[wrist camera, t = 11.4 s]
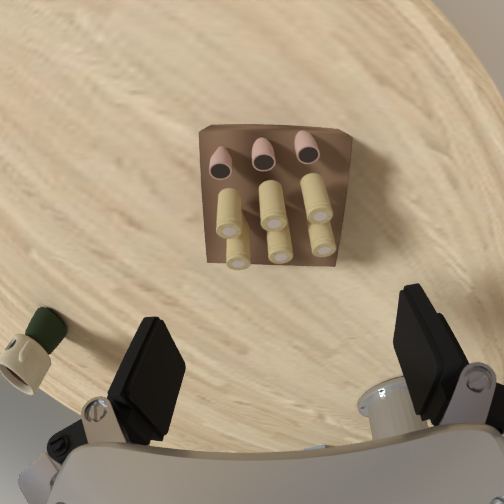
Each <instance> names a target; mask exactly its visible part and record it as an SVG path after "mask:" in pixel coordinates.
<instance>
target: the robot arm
mask: <svg viewBox="0 0 504 504" xmlns="http://www.w3.org/2000/svg"><path fill="white" fill-rule="evenodd" d="M393 345H394V349H395V352H396V355H397V357H398V360H399V363H400V366H401V369H402V372H403V375H404V377H399V378H395V379H392V380H389V381H386V382H384V383H381V384H379V385H377V386H375V387H374V388H372V389H371V390H369V391H368V392H367V393H365V394H364V395H363V396H362V397H361V399H360V400H359V402H358V411H359V413H360V414H361V415H363V416H365V417H368V418H369V421H370V427H371V432H372V438H373V440H372V441H367V442H362V443H356V444H350V445H344V446H337V447H329V448H321V449H311V450H300V451H287V452H264V453H228V452H205V451H191V450H180V449H171V448H162V447H153V446H150V445H149V444H150V441H151V440H155V441H163V437H164V435H166V434H167V433H168V430H169V426H170V423H171V419H172V415H173V412H174V408H175V405H176V401H177V397H178V394H179V390H180V387H181V383H182V380H183V376H184V373H185V369H186V366H185V362H184V360H183V358H182V356H181V354H180V352H179V350H178V349H177V347H176V345H175V343H174V341H173V339H172V337H171V335H170V333H169V331H168V329H167V327H166V325H165V323H164V321H163V320H160V318H159V317H145V318H144V319H143V320H142V322H141V324H140V326H139V328H138V330H137V332H136V334H135V336H134V338H133V340H132V342H131V344H130V346H129V348H128V350H127V352H126V354H125V356H124V358H123V361H122V363H121V365H120V367H119V369H118V371H117V373H116V375H115V378H114V380H113V382H112V384H111V386H110V388H109V391H108V396H107V398H105V397H101V396H100V397H94V398H92V399H90V400H89V401H88V402H87V403H86V404H85V405H84V407H83V408H82V412H81V418H82V419H80V420H79V421H77V422H75V423H73V424H72V425H70V426H68V427H66V428H65V429H63V430H61V431H59V432H58V433H56V434H55V435H53V436H52V437H51V438H50V439H49V442H48V444H47V452H45V451H43V452H42V453H41V454H40V455H39V456H38V457H37V458H36V459H35V460H34V461H33V462H32V463H31V464H30V465H29V466H27V468H25V469H24V470H23V471H22V472H21V474H20V476H19V479H18V484H19V487H20V489H21V491H22V493H23V495H24V496H25V498H26V500H27V502H28V503H29V504H504V385H502V384H499V383H497V382H496V375H495V373H494V371H493V369H492V368H491V367H489V366H488V365H486V364H484V363H480V362H475V363H471V364H469V362H468V360H467V358H466V356H465V354H464V352H463V350H462V349H461V347H460V345H459V343H458V341H457V339H456V337H455V335H454V334H453V332H452V330H451V328H450V326H449V325H448V323H447V321H446V319H445V318H444V316H443V315H442V314H441V313H437V312H436V310H435V309H434V307H433V305H432V304H431V302H430V300H429V299H428V297H427V295H426V294H425V292H424V290H423V289H422V287H421V286H420V284H418V283H417V284H411V285H406V286H404V289H403V290H401V291H400V293H399V302H398V310H397V318H396V325H395V331H394V338H393ZM428 419H430V420H431V423H432V424H433V425H434V426H433V427H430V428H429V427H428V424H427V420H428Z"/></svg>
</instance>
